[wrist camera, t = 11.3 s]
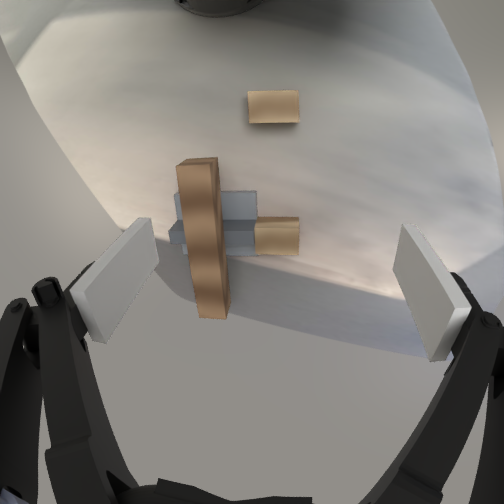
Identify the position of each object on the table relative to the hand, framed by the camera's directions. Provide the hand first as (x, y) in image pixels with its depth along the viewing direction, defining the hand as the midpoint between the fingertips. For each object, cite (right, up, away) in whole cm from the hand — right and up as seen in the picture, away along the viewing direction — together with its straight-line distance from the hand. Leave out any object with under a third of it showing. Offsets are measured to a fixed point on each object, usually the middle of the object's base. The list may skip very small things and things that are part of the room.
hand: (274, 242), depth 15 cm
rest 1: (+2, +19, +21) cm, 28 cm away
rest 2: (+3, +3, +30) cm, 30 cm away
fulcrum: (-6, +4, +31) cm, 31 cm away
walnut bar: (-7, +1, +26) cm, 27 cm away
